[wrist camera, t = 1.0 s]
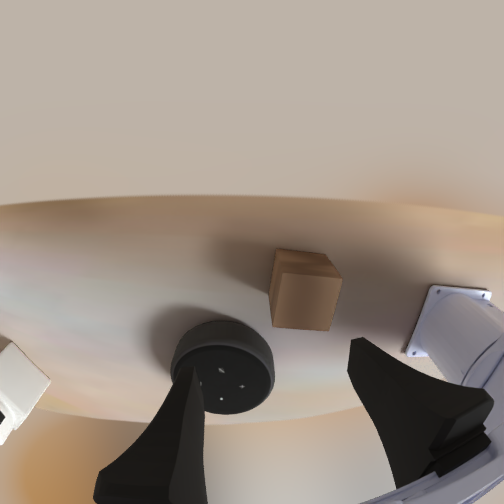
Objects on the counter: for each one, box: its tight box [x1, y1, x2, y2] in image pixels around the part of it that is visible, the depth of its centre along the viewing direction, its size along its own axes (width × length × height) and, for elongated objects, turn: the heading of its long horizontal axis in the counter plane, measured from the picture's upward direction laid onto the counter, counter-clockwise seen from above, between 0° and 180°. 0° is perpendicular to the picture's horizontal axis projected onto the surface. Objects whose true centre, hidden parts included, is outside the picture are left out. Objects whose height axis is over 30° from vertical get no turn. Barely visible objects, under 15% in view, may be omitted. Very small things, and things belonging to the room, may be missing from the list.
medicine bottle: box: [0, 342, 51, 445], centre depth 23 cm, size 7×7×12 cm
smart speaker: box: [170, 321, 275, 415], centre depth 25 cm, size 9×9×4 cm
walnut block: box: [269, 248, 343, 331], centre depth 22 cm, size 4×4×5 cm
